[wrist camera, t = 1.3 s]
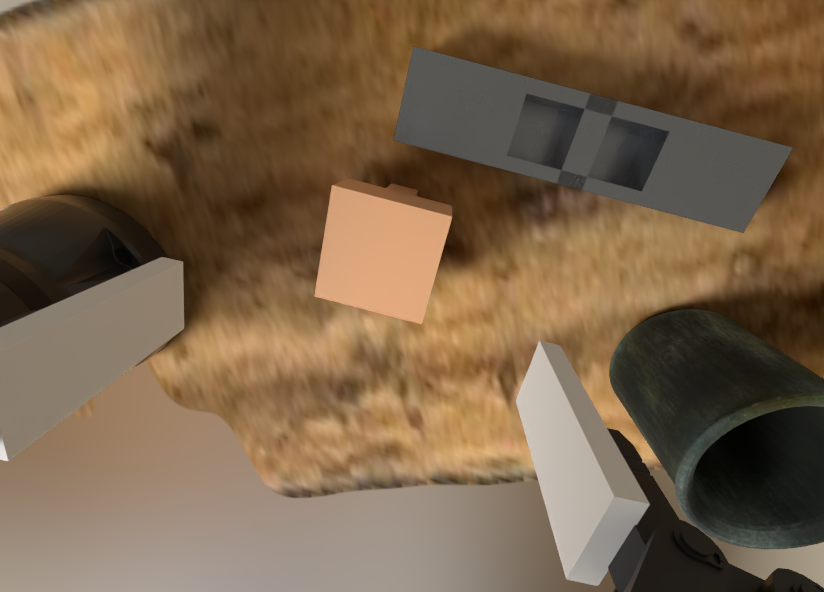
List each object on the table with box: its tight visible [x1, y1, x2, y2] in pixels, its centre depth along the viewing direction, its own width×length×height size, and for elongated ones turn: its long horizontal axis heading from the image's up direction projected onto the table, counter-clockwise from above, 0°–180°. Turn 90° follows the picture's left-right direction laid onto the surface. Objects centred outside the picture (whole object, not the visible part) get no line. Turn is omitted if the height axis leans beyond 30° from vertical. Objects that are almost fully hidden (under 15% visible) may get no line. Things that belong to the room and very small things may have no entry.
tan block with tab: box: [315, 178, 452, 324], centre depth 27 cm, size 7×7×7 cm
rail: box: [394, 46, 793, 233], centre depth 25 cm, size 22×5×4 cm, turn 77°
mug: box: [609, 309, 824, 549], centre depth 26 cm, size 11×15×12 cm
